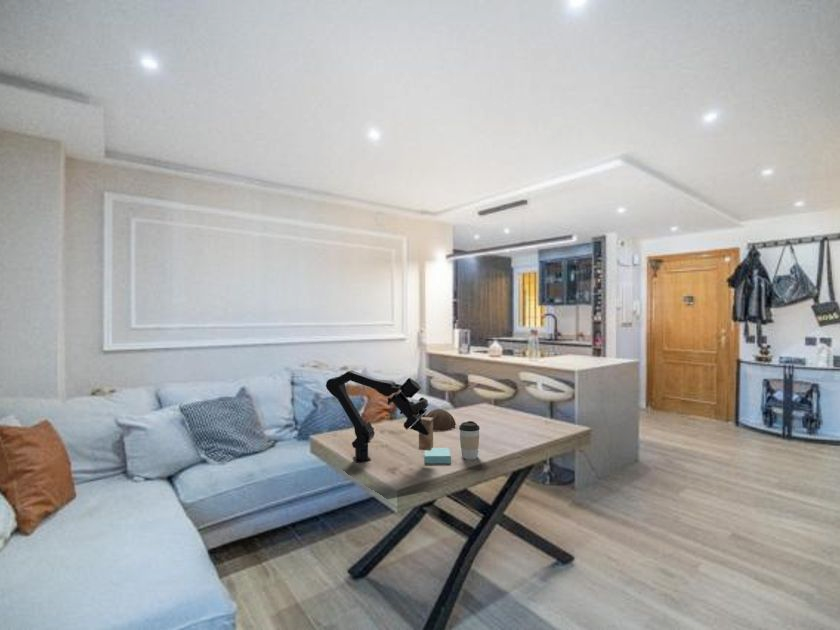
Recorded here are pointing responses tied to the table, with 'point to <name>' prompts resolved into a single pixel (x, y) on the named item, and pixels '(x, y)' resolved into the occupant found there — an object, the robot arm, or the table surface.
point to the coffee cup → (469, 439)
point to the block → (426, 440)
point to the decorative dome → (441, 419)
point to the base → (438, 455)
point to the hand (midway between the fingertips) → (429, 432)
